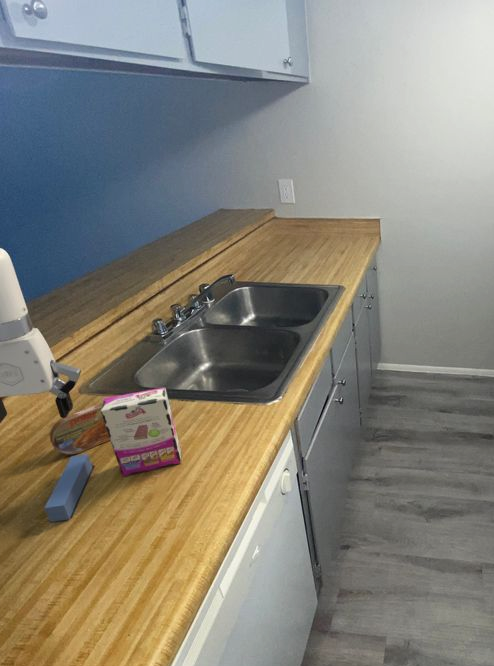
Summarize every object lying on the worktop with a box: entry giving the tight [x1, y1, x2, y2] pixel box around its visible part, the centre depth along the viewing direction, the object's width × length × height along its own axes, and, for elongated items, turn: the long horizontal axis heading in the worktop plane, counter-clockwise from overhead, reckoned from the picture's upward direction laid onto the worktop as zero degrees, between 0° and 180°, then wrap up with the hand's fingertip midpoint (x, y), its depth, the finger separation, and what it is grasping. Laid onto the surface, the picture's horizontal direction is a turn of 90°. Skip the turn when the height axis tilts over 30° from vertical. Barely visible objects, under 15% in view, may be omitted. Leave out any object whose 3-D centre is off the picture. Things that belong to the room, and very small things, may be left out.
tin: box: [49, 402, 111, 456], centre depth 102 cm, size 15×3×8 cm, turn 137°
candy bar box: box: [101, 386, 182, 477], centre depth 95 cm, size 11×5×16 cm, turn 114°
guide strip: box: [48, 465, 95, 522], centre depth 91 cm, size 4×14×1 cm, turn 15°
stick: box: [44, 453, 93, 523], centre depth 90 cm, size 3×14×4 cm, turn 16°
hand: (34, 416), depth 81 cm, fingers open, 9 cm apart
